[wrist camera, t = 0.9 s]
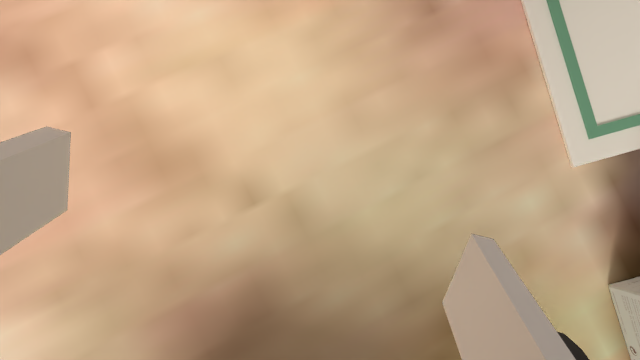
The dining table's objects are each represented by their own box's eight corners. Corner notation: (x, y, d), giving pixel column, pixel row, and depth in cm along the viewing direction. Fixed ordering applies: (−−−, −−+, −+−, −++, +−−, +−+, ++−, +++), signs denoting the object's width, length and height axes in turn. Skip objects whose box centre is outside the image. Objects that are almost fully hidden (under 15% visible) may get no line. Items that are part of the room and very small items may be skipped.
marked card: (755, 115, 33) (762, 114, 32) (571, 167, 32) (575, 167, 32) (696, -69, 34) (702, -73, 33) (514, -22, 33) (517, -25, 32)
